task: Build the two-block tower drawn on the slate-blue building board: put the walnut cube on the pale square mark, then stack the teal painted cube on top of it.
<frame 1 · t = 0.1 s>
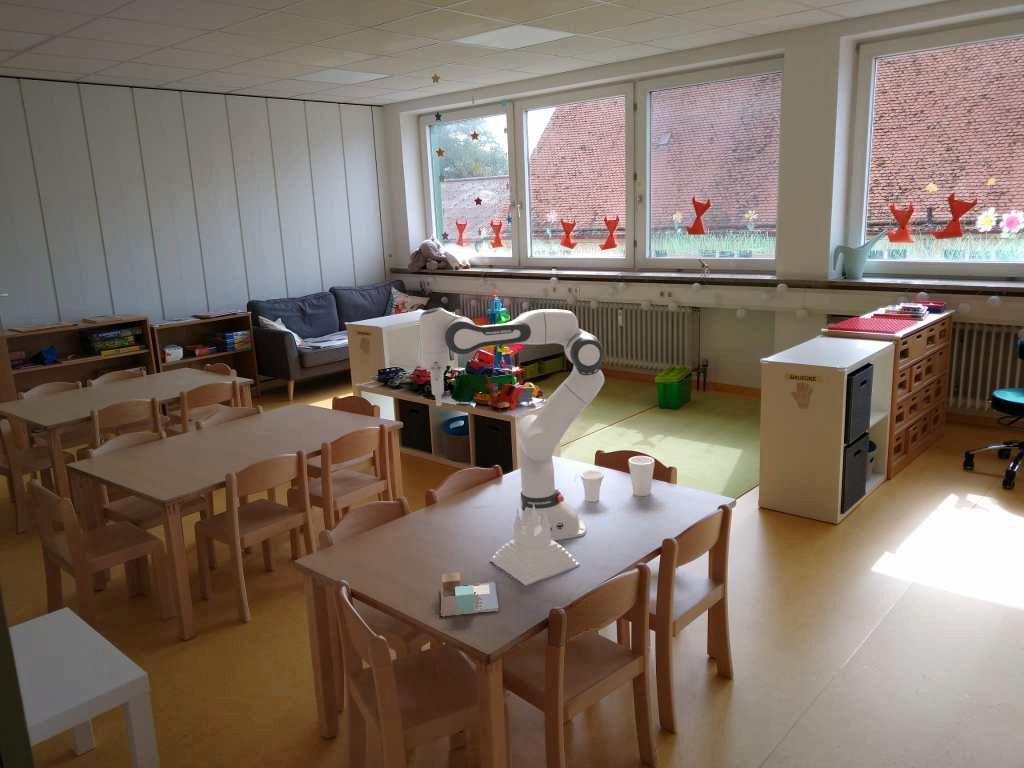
hand: (439, 401, 248), 48 cm above the table, fingers open, 8 cm apart
teal cube: (465, 606, 214), point 1 cm above the table, touching building board
building board: (468, 600, 219), on the table
walnut cube: (452, 592, 222), point 1 cm above the table, touching building board
foam cup: (641, 493, 291), on the table
castle model: (533, 564, 239), on the table
cup: (593, 499, 287), on the table
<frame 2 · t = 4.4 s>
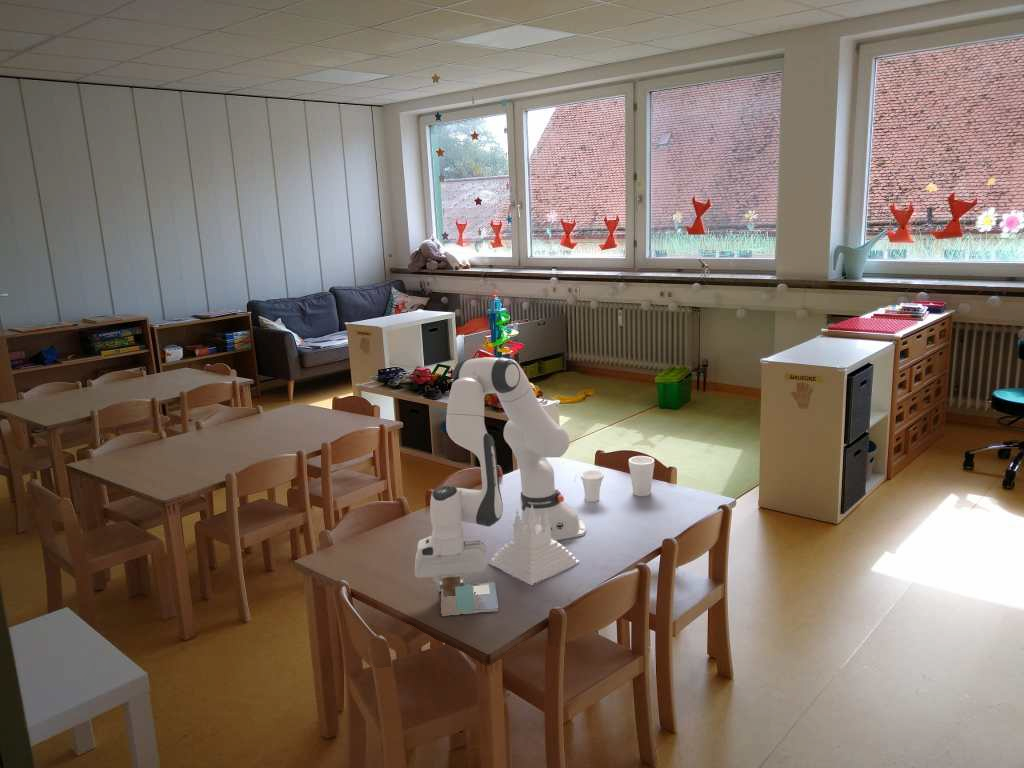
hand: (451, 587, 222), 3 cm above the table, fingers closed on walnut cube, 5 cm apart
walnut cube: (452, 592, 222), point 1 cm above the table, touching building board, gripper
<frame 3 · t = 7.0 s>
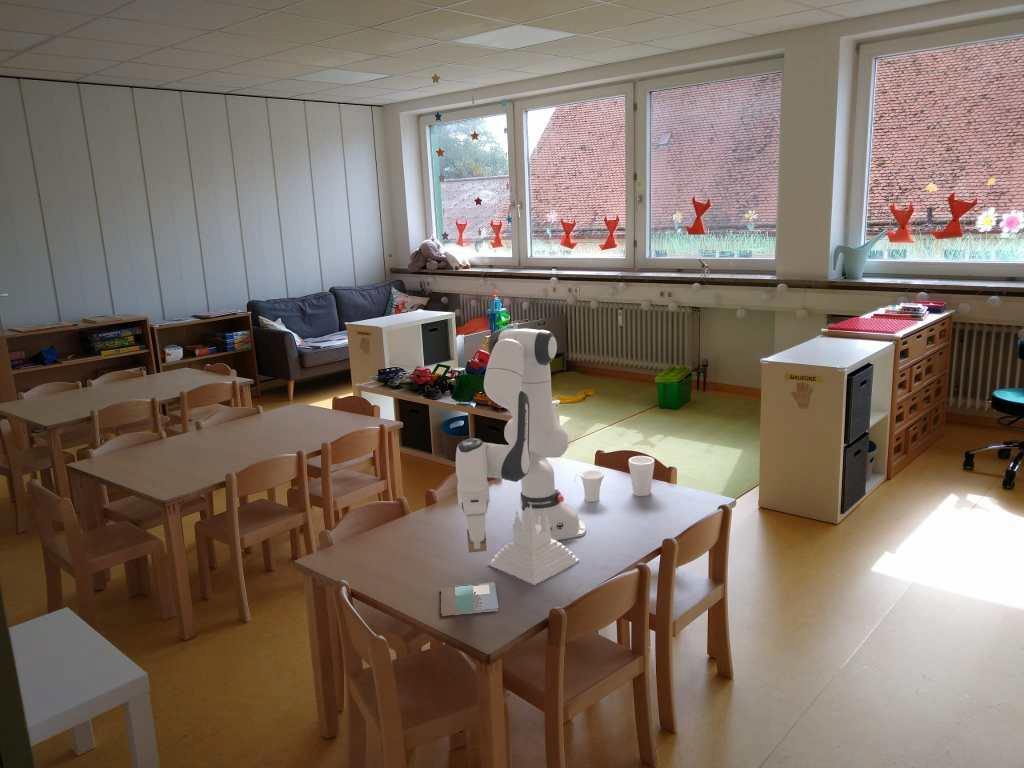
hand: (476, 542, 219), 16 cm above the table, fingers closed on walnut cube, 5 cm apart
walnut cube: (477, 547, 220), point 14 cm above the table, touching gripper
when the fingers open (4 cm above the table, at t = 9.5 s): walnut cube stays where it is, resting on building board.
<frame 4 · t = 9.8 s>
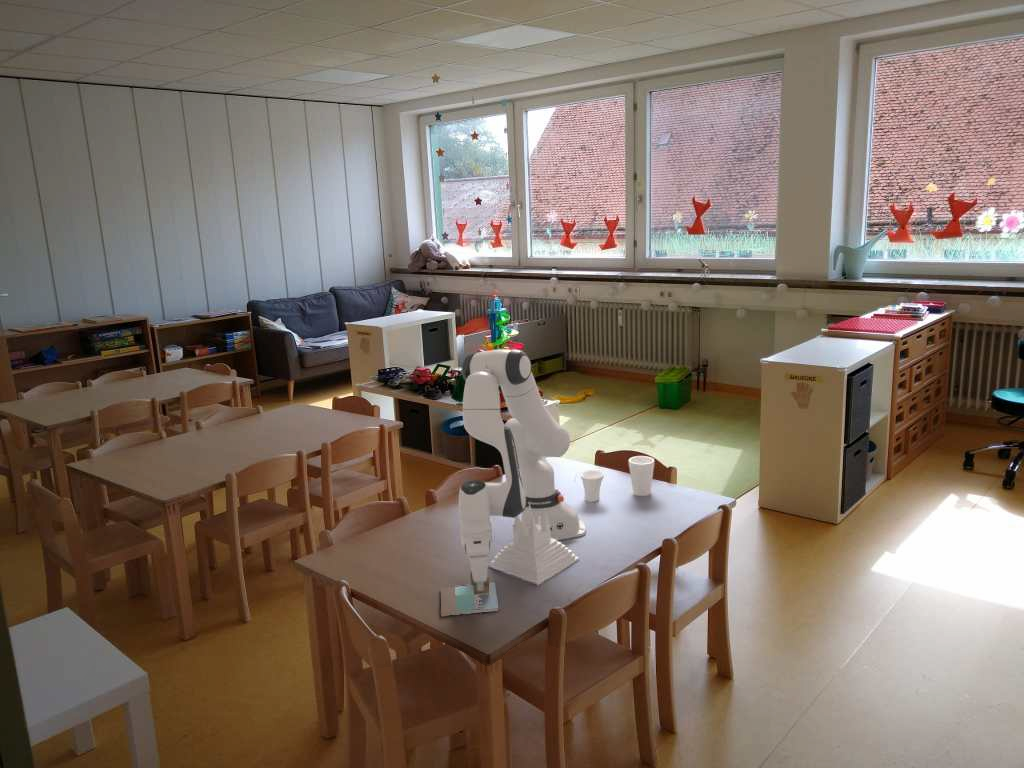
hand: (479, 581, 222), 4 cm above the table, fingers open, 8 cm apart
walnut cube: (480, 589, 223), point 1 cm above the table, touching building board
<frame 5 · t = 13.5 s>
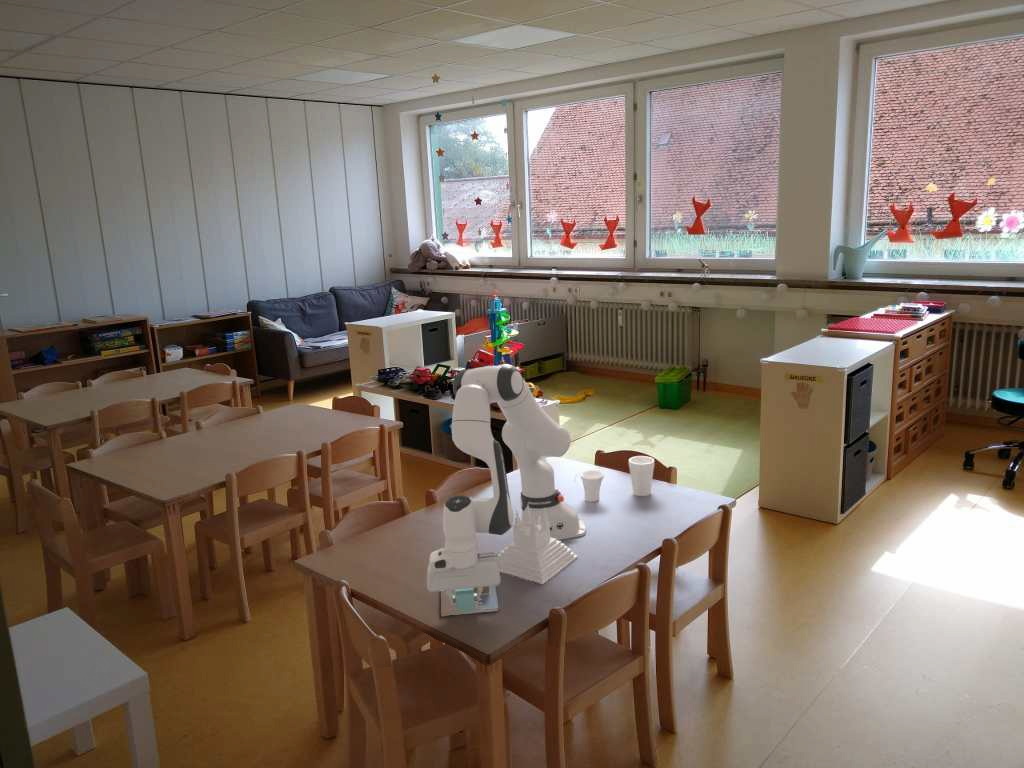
hand: (465, 601, 214), 3 cm above the table, fingers closed on teal cube, 5 cm apart
teal cube: (465, 606, 214), point 1 cm above the table, touching building board, gripper
when the fingers open (8 cm above the table, at t = 18.7 s): teal cube stays where it is, resting on walnut cube.
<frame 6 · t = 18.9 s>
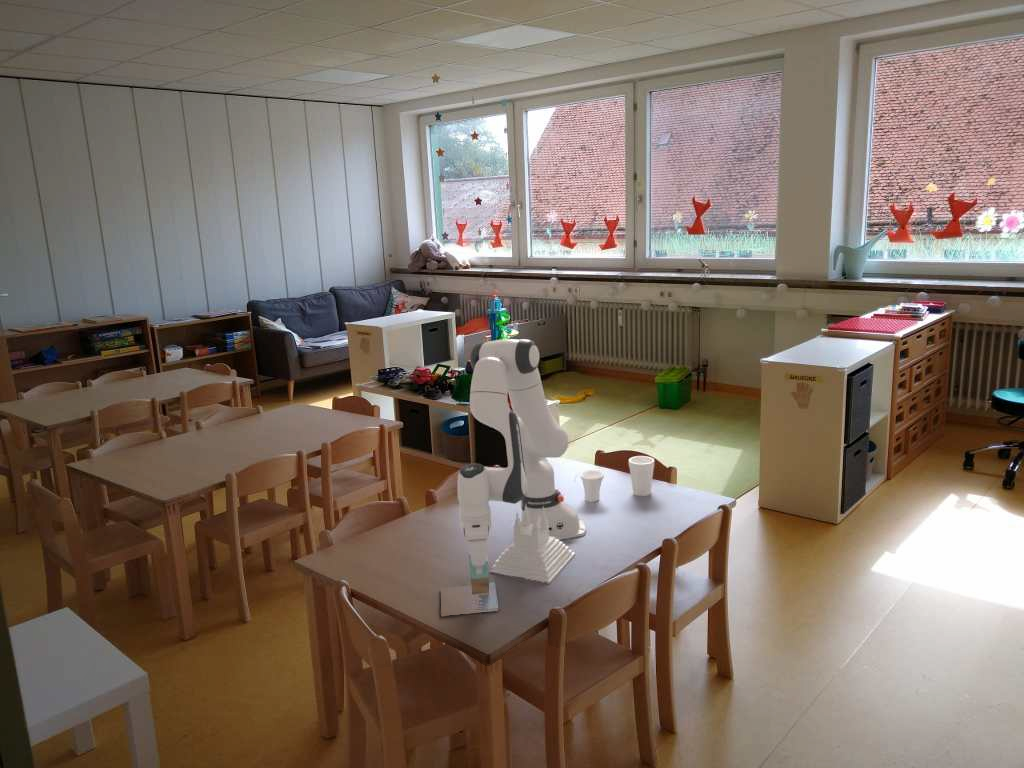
hand: (478, 566, 221), 8 cm above the table, fingers open, 7 cm apart
teal cube: (479, 573, 222), point 6 cm above the table, touching walnut cube
walnut cube: (480, 589, 223), point 1 cm above the table, touching building board, teal cube
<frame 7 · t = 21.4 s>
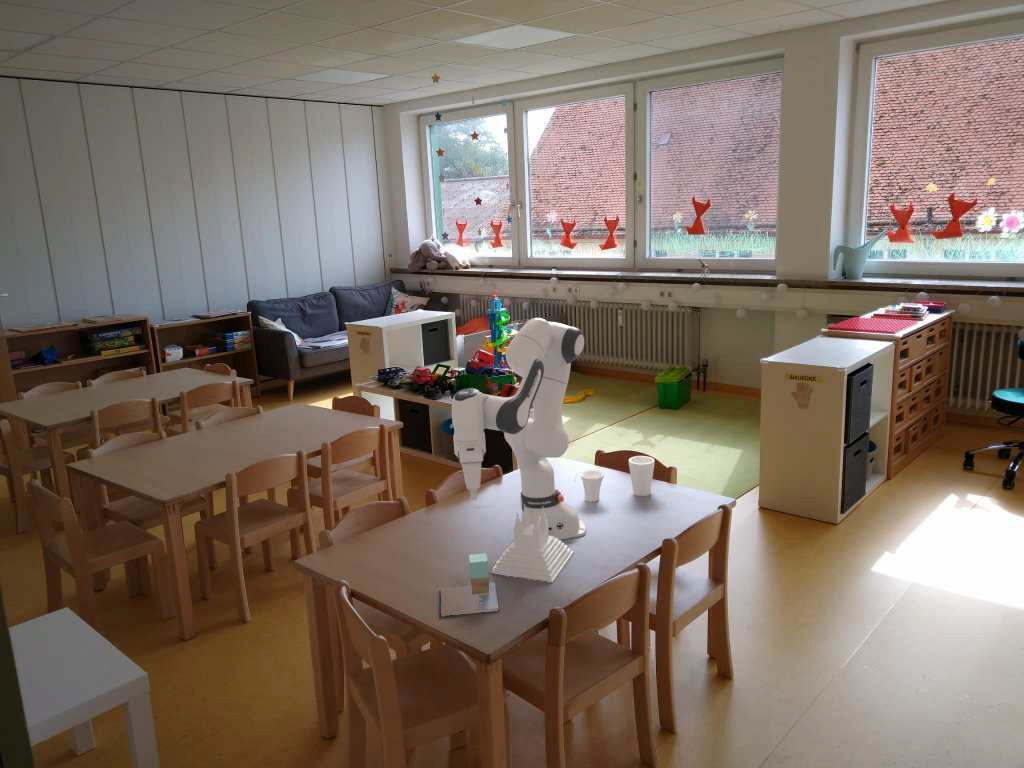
hand: (473, 493, 220), 29 cm above the table, fingers open, 8 cm apart
at the end: walnut cube 0.1 cm from the target spot on the building board, point 1.1 cm above the building board's base; teal cube 0.0 cm off-centre on the walnut cube, point 5.0 cm above the walnut cube's base; teal cube tilted 0° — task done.
